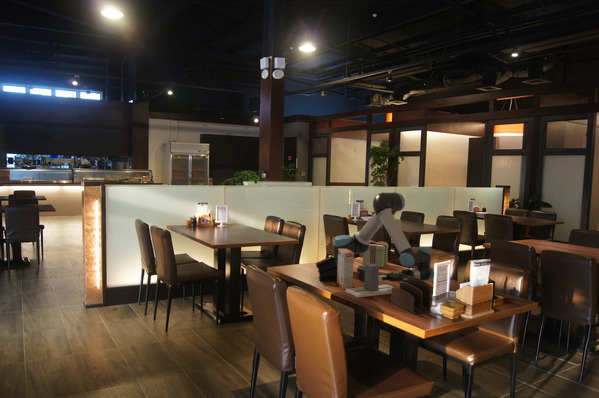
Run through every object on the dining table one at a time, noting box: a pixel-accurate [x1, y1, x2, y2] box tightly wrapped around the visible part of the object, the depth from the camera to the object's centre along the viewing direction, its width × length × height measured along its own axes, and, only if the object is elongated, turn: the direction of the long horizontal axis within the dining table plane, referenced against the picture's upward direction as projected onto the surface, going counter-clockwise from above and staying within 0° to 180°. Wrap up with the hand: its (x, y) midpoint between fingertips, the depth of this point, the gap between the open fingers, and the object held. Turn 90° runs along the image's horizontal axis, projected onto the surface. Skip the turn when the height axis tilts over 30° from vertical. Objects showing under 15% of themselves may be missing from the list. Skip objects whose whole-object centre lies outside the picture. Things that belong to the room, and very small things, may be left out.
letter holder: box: [390, 276, 432, 315], centre depth 212 cm, size 10×20×14 cm, turn 19°
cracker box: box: [336, 249, 355, 291], centre depth 247 cm, size 14×6×21 cm, turn 9°
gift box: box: [362, 239, 389, 268], centre depth 310 cm, size 17×18×17 cm
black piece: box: [315, 255, 337, 283], centre depth 259 cm, size 4×13×15 cm, turn 99°
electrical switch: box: [356, 264, 365, 282], centre depth 262 cm, size 9×5×9 cm, turn 44°
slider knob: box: [362, 264, 380, 291], centre depth 236 cm, size 6×6×13 cm
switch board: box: [345, 283, 394, 298], centre depth 237 cm, size 28×12×2 cm, turn 116°
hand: (376, 278), depth 237 cm, fingers closed
